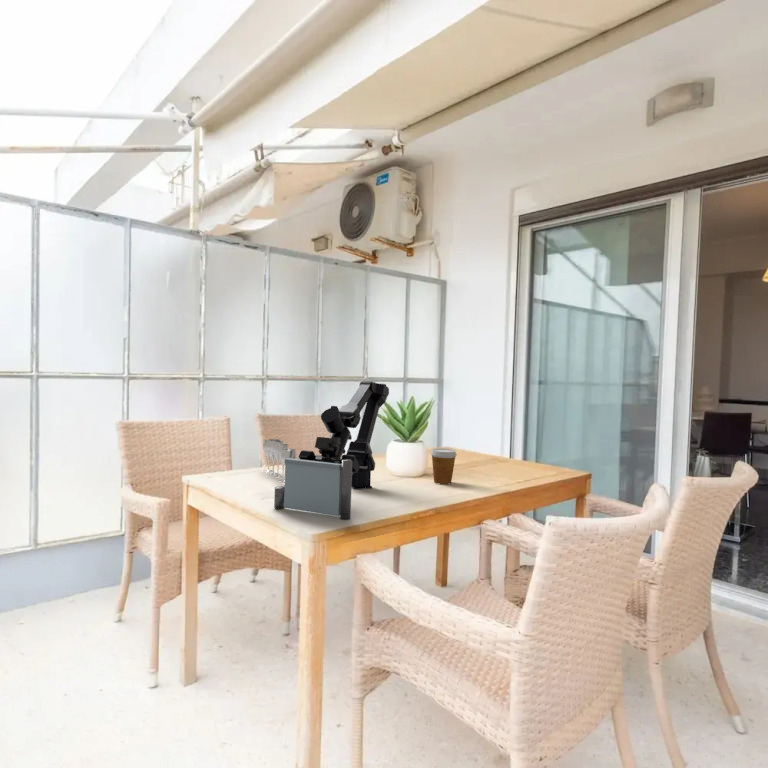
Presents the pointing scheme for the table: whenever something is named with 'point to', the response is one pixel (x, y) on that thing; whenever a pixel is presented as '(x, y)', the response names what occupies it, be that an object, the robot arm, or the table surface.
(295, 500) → the panel
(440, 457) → the disposable coffee cup
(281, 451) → the goblet set
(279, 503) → the posts
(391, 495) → the table surface
